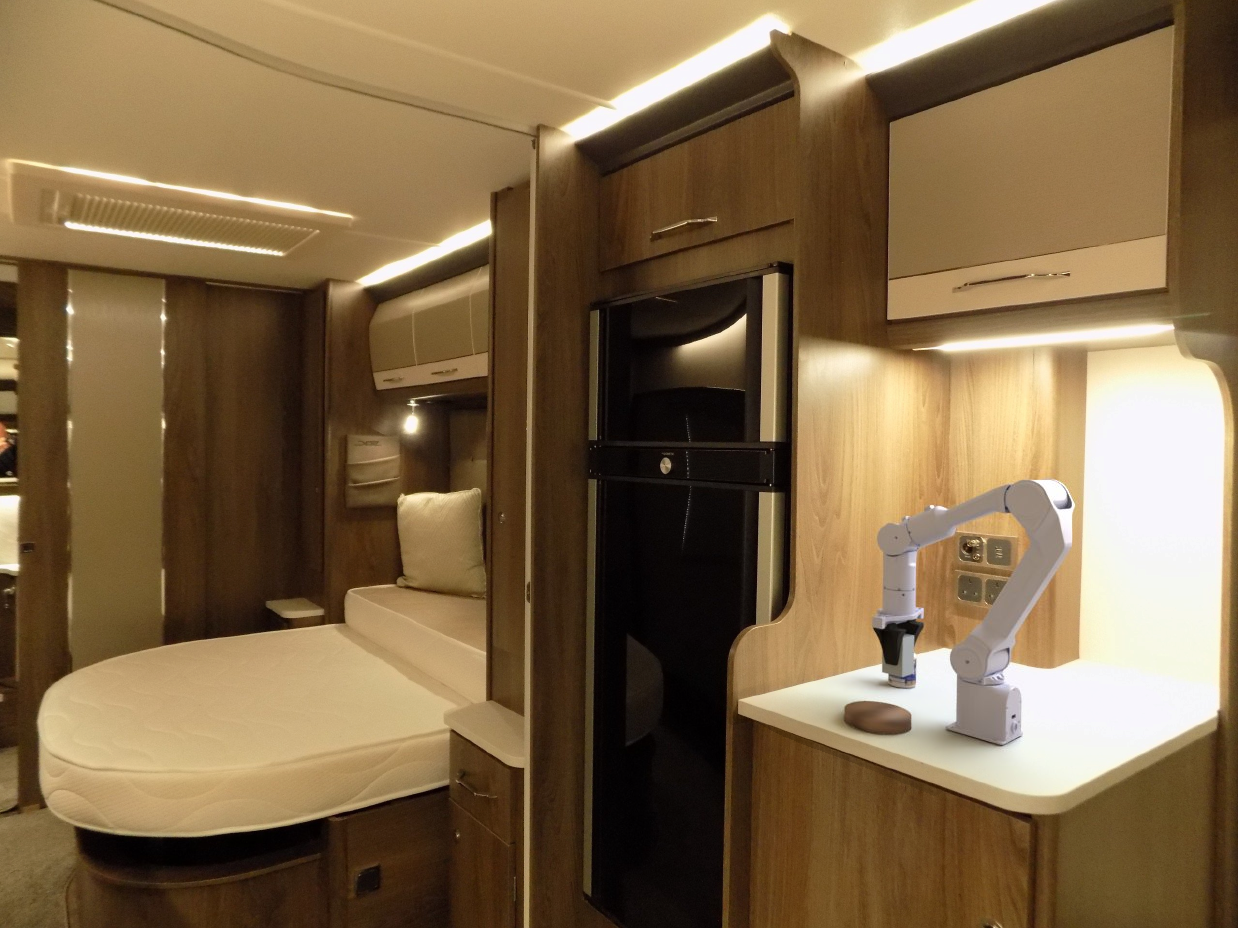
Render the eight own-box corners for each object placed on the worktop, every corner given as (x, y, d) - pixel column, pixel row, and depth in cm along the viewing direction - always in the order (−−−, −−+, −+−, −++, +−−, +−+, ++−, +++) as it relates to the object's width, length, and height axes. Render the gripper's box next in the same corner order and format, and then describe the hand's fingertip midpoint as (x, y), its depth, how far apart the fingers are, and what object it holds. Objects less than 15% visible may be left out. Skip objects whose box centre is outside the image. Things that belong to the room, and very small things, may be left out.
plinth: (923, 724, 131) (923, 713, 131) (889, 739, 124) (889, 727, 124) (866, 707, 139) (866, 696, 139) (831, 720, 132) (831, 709, 132)
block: (913, 673, 139) (914, 635, 139) (902, 677, 136) (902, 638, 136) (893, 668, 142) (894, 631, 142) (882, 672, 139) (882, 634, 139)
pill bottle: (911, 690, 150) (912, 645, 150) (884, 685, 153) (885, 641, 153) (919, 684, 154) (919, 640, 154) (893, 679, 157) (893, 636, 157)
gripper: (899, 581, 147) (898, 651, 147) (857, 589, 137) (856, 664, 138) (934, 586, 141) (933, 659, 142) (893, 595, 132) (892, 672, 132)
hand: (898, 662), depth 139 cm, fingers closed on block, 4 cm apart
